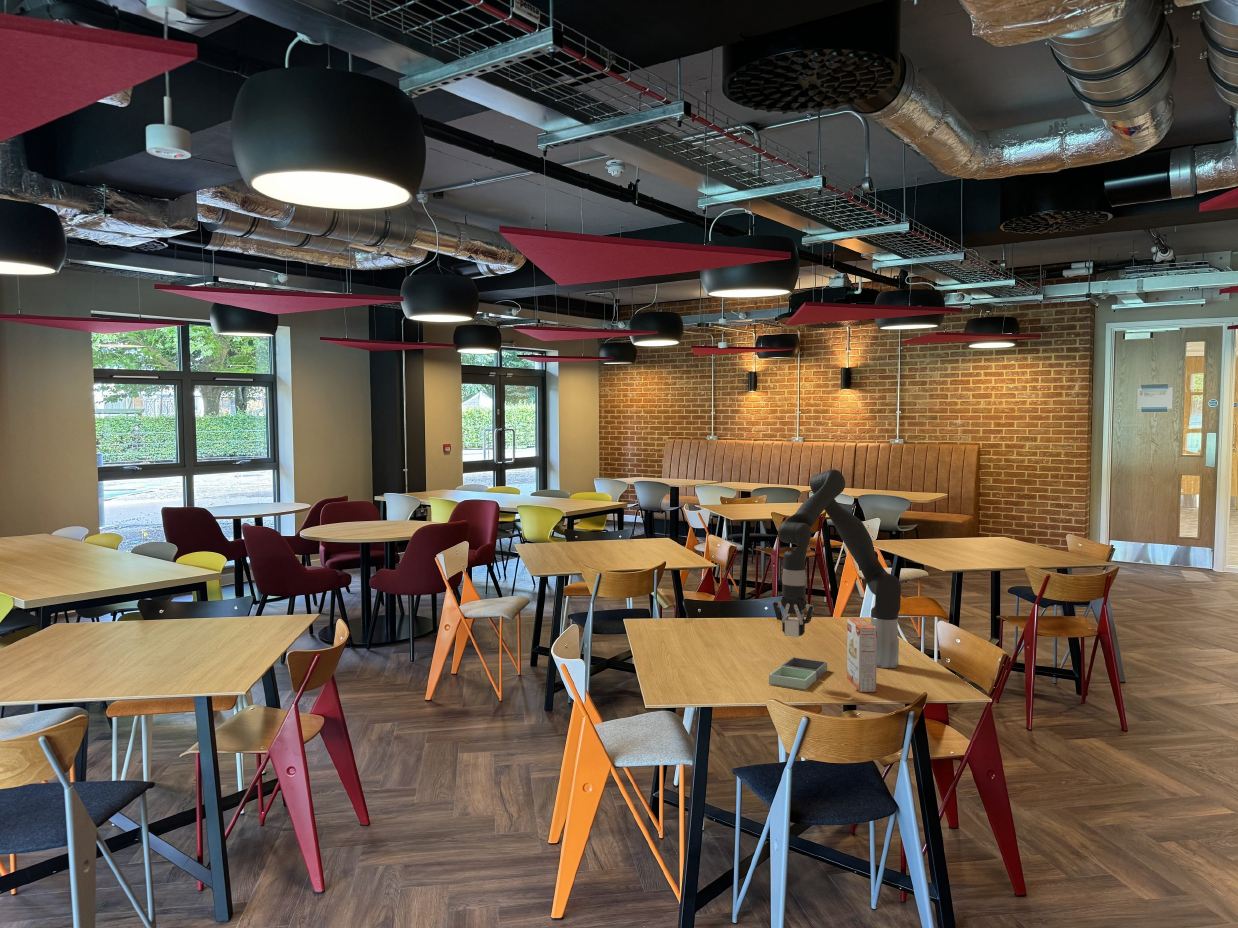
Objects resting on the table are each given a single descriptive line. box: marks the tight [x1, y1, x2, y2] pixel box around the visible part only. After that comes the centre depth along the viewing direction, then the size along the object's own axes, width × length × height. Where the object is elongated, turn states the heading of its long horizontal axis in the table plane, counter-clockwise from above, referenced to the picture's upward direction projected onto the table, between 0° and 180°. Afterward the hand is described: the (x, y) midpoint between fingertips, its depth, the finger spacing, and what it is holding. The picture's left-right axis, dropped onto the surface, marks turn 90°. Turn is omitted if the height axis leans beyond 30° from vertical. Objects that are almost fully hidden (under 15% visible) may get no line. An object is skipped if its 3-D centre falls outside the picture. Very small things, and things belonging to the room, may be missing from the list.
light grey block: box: [784, 617, 800, 638], centre depth 259 cm, size 4×4×5 cm
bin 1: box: [768, 665, 817, 692], centre depth 259 cm, size 12×12×4 cm
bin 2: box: [781, 657, 828, 680], centre depth 270 cm, size 12×12×4 cm
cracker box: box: [846, 618, 877, 693], centre depth 257 cm, size 14×6×21 cm, turn 179°
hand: (793, 633), depth 259 cm, fingers closed on light grey block, 4 cm apart
